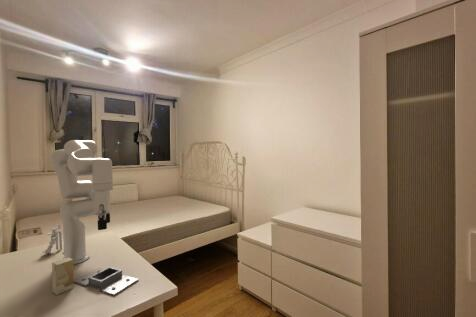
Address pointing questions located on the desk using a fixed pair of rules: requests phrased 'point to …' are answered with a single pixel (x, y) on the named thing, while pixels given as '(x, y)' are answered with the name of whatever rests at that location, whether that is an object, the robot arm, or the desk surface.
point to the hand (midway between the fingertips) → (104, 226)
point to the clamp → (54, 234)
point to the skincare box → (62, 275)
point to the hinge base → (107, 280)
